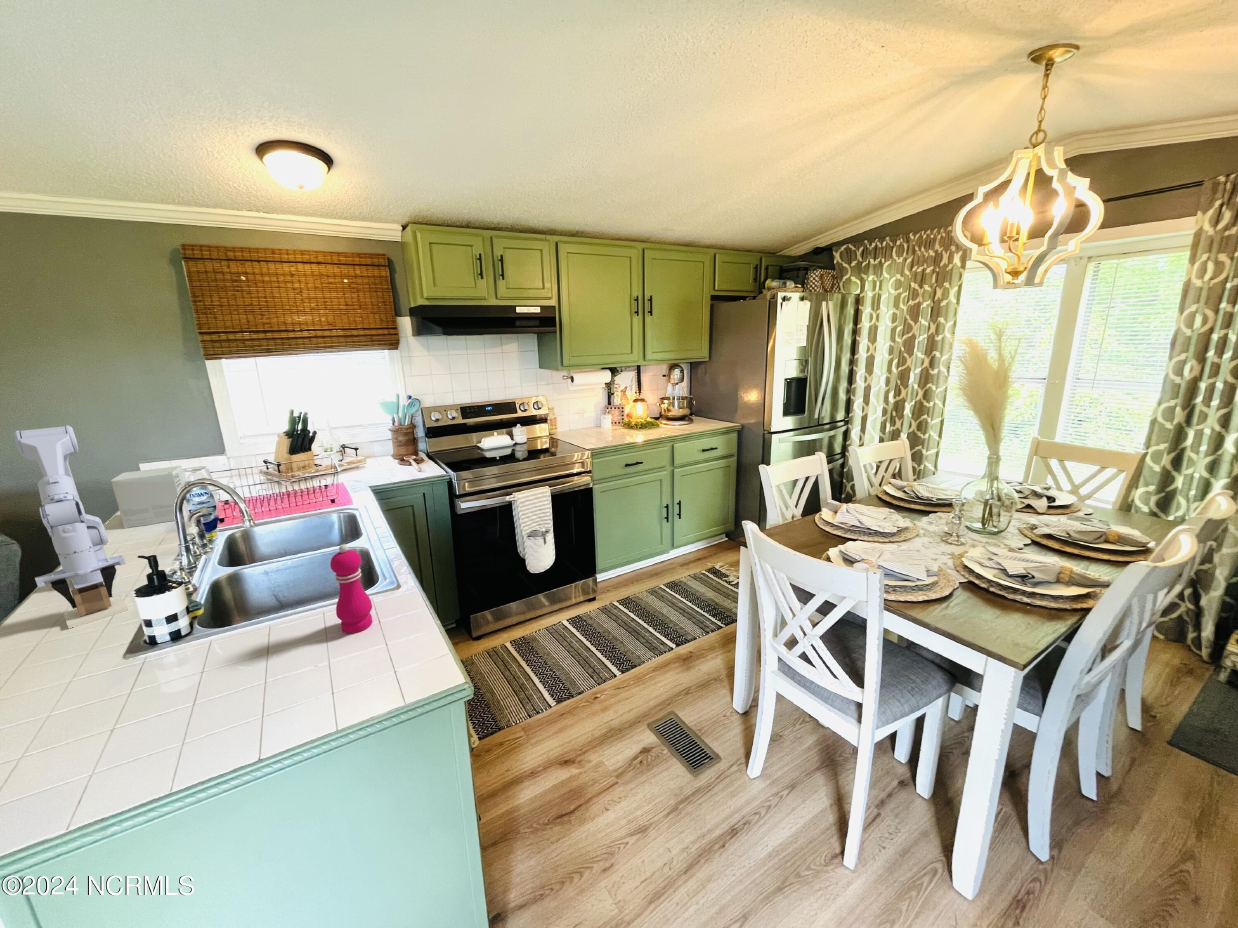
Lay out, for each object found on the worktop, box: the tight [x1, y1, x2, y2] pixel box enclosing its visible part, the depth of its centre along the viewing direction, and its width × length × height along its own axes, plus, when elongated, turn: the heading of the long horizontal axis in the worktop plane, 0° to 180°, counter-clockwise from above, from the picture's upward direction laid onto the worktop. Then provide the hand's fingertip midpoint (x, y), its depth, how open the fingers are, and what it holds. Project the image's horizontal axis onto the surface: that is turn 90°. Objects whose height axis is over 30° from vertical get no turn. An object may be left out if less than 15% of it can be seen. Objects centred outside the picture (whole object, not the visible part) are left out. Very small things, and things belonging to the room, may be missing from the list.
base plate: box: [62, 595, 129, 630], centre depth 120 cm, size 9×10×5 cm
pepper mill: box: [330, 544, 373, 634], centre depth 111 cm, size 7×7×20 cm
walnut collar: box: [70, 581, 112, 616], centre depth 120 cm, size 5×5×5 cm
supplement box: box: [109, 465, 186, 529], centre depth 183 cm, size 17×13×18 cm
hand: (92, 601), depth 120 cm, fingers closed on walnut collar, 5 cm apart
